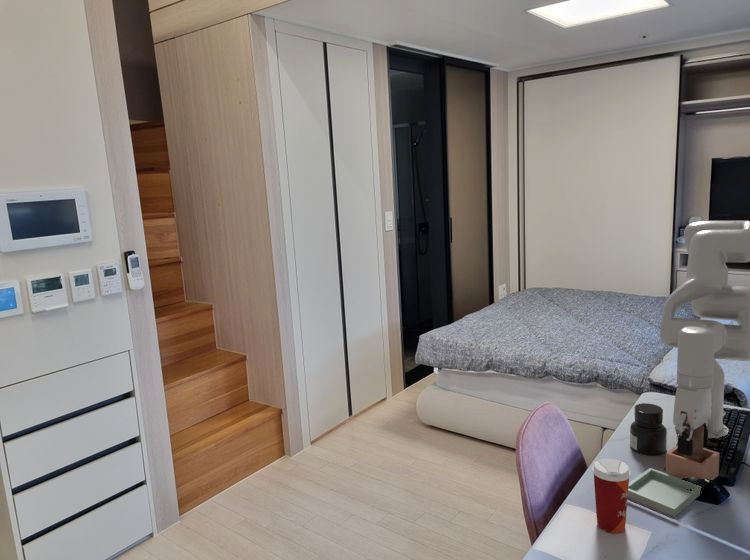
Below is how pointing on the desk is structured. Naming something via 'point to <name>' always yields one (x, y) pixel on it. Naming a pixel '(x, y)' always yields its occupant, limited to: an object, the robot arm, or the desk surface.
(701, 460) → the walnut peg
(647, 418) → the ink bottle
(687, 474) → the terracotta box
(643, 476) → the sage tray
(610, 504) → the paper cup
